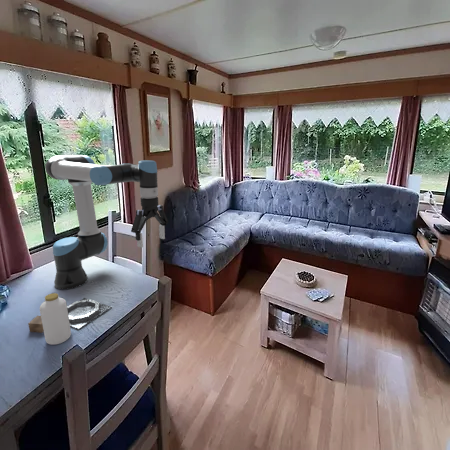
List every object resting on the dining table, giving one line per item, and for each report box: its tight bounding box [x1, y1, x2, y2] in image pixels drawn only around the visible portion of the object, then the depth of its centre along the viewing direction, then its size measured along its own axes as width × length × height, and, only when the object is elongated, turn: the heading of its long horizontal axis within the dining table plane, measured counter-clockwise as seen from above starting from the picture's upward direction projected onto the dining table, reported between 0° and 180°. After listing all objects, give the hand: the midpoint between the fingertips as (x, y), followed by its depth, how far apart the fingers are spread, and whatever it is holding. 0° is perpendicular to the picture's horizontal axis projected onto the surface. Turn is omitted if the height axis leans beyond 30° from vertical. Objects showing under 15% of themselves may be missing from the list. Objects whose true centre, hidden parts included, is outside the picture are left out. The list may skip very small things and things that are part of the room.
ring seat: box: [67, 297, 113, 331], centre depth 118 cm, size 17×17×2 cm
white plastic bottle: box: [39, 292, 72, 346], centre depth 101 cm, size 8×8×18 cm
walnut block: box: [27, 315, 44, 334], centre depth 108 cm, size 5×5×4 cm
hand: (151, 242), depth 126 cm, fingers open, 13 cm apart
